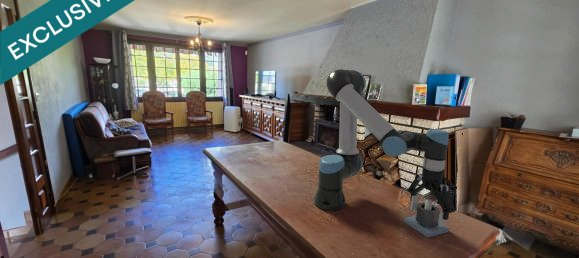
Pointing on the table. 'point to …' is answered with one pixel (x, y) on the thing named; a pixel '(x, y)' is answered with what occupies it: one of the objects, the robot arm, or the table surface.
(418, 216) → the hub
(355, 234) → the table surface
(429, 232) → the shaft block
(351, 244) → the table surface
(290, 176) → the table surface
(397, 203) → the table surface
